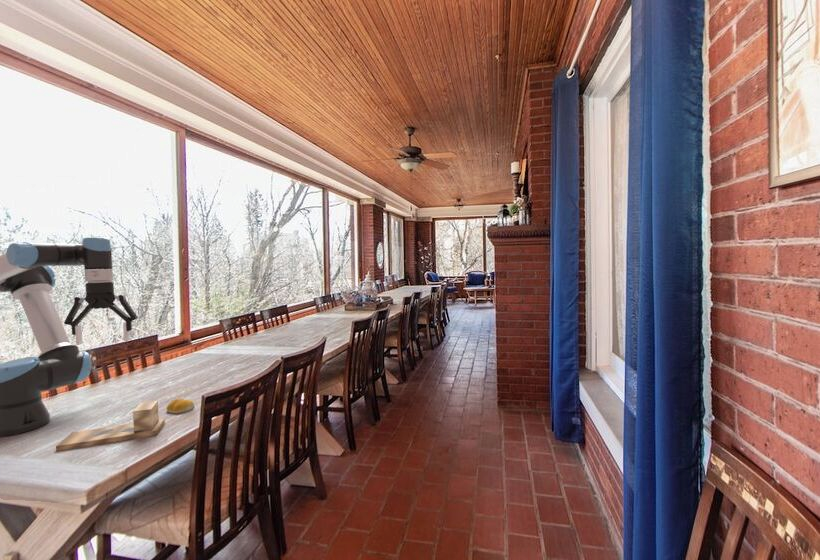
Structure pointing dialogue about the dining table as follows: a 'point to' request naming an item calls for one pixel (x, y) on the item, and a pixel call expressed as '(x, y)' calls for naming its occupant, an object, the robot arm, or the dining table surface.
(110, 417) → the dining table surface
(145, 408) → the block
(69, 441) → the oak plank
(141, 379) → the dining table surface
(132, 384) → the dining table surface
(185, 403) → the bread roll
